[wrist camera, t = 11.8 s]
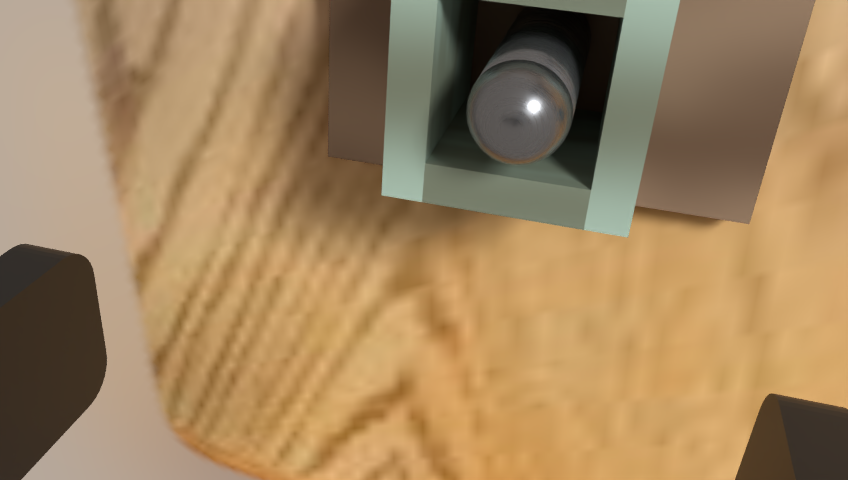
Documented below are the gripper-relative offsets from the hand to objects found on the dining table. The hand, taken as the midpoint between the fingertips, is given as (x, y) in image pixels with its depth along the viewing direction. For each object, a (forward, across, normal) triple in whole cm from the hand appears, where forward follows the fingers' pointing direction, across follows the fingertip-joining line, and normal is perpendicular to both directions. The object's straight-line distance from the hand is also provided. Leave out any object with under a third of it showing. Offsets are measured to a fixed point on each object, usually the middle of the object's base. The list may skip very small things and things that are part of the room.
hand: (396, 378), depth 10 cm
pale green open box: (+17, 0, 0) cm, 17 cm away
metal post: (+17, 0, 0) cm, 17 cm away
